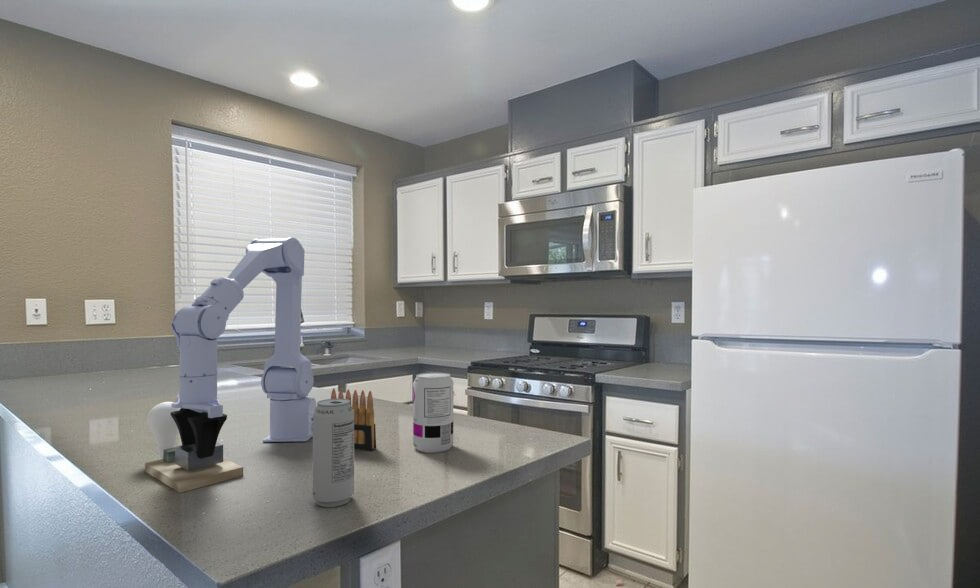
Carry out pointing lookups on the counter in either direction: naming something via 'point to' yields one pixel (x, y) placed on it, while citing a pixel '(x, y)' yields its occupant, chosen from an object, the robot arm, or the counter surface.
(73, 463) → the counter surface
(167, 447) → the lightbulb
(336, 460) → the energy drink can
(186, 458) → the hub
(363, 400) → the ammunition clip
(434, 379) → the supplement can
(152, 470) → the stand
